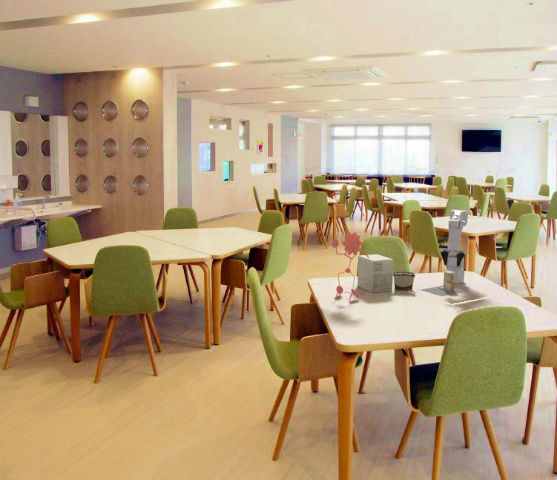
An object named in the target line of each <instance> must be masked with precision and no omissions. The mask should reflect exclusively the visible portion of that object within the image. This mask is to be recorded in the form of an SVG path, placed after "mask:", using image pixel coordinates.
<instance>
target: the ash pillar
mask: <svg viewBox="0 0 557 480" xmlns="http://www.w3.org/2000/svg"><path fill="white" fill-rule="evenodd" d="M454 277H455V272H451V271H448V270H446V271H444V272H443V285H442V286H443V288H446V289H450V290H454V289H455V283H454Z"/></svg>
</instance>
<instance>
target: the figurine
mask: <svg viewBox="0 0 557 480" xmlns="http://www.w3.org/2000/svg"><path fill="white" fill-rule="evenodd" d="M360 239H361V237H360V235H358V234H357V232H352V233H351V232H350V231H348V232H347V233H346V235H344V240H342V242H341V244H342V245H343V246H344V251H345V252H344V253H339V252H338V246H339V245H340V244H339V243H340V242H339V240H338V239H337V238H335V239H333V240H332V241H331V246H332V248H333V249H335V253H336V255H341V256H346V257H347V258H349V259H350V261H349V264H348V267H347V268H345V270H343V272H339V273H338V274H337V280H338V285H337V287H336V289H335V290H336V295H335V298H338V295H339V296H340V295H341V294H343V293H344V294H345V293H346V294H347V293H349V294H350V296H349V299H348V301H350V302H351V298H352V297H353V296H354V297H355V298H357V299H358V300H360V295H359V293H358V292H357V291H356V290H355V283H353V284H352V288H351V289H350V291H351V292H348V291H347V292H345V291H344V288H343V286H341V284H340V283H341V282H340V278H339V275H340V274H344V273H347V274H349V273H350V274H351V275H352V277H353V281H355V280H356V278H355V275H353V273H352V270H351V268H350V266H351V263H352V260H353V259H354V258H355V256H357V255H358V252H362V253H363V255H366V256H367V257H368V255H369V254H367V253H366V252H365V251H364V250H363V249H362V248H361V246H363V242H362V240H360ZM352 254H353V256H352V257H350V256H351V255H352ZM368 258H369V257H368ZM352 295H353V296H352ZM357 303H358V304H359V303H360V302H358V301H357Z"/></svg>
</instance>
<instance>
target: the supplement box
mask: <svg viewBox="0 0 557 480" xmlns="http://www.w3.org/2000/svg"><path fill="white" fill-rule="evenodd" d="M357 255H358V254H357ZM367 255H368V257H369V258H368V257H367V256H366V255H365V254H361V255H360V254H359V255H358V256H357V258H358V261H357V281H356V282H357V283H356V285H357V287H359V288H361V289H364V291H365V290H366V291H368V292H370V293H374V294H375V293H384V292H385V293H386V292H393V283H394V276H393V274H394V258H390V257H388V256H384V255H381V254H377V253H375V254H367Z"/></svg>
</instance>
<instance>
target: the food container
mask: <svg viewBox="0 0 557 480" xmlns="http://www.w3.org/2000/svg"><path fill="white" fill-rule="evenodd" d="M415 278H416V274H415V273H414V272H412V271H405V270H400V271H399V270H398V271H393V284H394V285H393V286H394V291H395V292H410V291H412V290H413V287H414V280H415Z"/></svg>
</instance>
